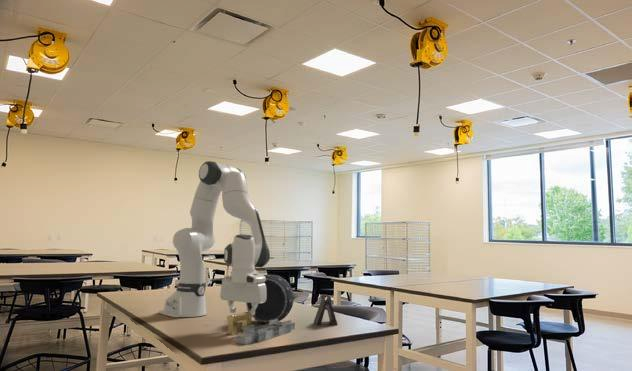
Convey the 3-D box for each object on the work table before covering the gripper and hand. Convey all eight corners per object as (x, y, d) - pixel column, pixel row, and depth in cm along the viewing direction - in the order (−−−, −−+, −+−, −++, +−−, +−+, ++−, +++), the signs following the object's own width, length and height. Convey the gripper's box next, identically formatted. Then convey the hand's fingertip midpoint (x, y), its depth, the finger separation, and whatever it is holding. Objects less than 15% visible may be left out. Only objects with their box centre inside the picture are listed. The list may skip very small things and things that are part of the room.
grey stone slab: (249, 345, 141) (249, 332, 142) (233, 342, 145) (233, 329, 145) (297, 329, 167) (298, 318, 168) (283, 327, 171) (283, 316, 171)
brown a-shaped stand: (316, 325, 175) (317, 296, 176) (313, 322, 181) (314, 294, 182) (337, 325, 177) (338, 295, 178) (333, 322, 183) (334, 293, 184)
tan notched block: (232, 335, 155) (233, 317, 156) (226, 334, 156) (227, 316, 157) (251, 329, 164) (252, 312, 165) (245, 328, 166) (246, 311, 167)
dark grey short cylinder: (288, 327, 171) (290, 276, 173) (241, 323, 175) (243, 274, 177) (295, 322, 181) (296, 274, 183) (250, 319, 185) (252, 272, 188)
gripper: (217, 276, 165) (215, 312, 164) (259, 278, 155) (258, 317, 154) (228, 274, 171) (227, 310, 169) (269, 277, 161) (268, 315, 159)
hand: (242, 313), depth 161 cm, fingers open, 8 cm apart
